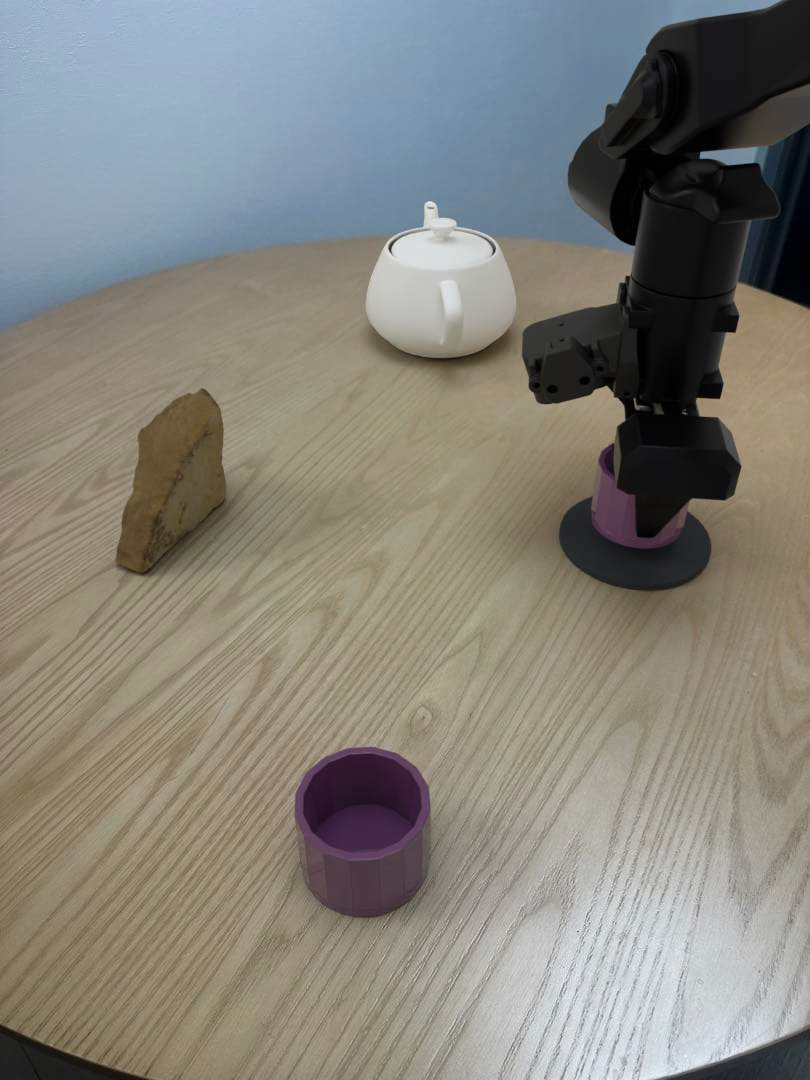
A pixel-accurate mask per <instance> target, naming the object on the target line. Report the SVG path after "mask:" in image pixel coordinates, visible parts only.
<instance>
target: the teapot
mask: <svg viewBox="0 0 810 1080" xmlns="http://www.w3.org/2000/svg"><path fill="white" fill-rule="evenodd" d="M423 212H424V213H423V215H424V218H423V226H422V227H416V228H411V229H408V230H404V231H402V232H399V233H397V234H395V235H394V236H392V237H390V239H389V240H387V242H386V243H385V245H384V247H383V249H382V250H381V252H380V254H379V257H378V259H377V261H376V263H375V266H374V268H373V271H372V273H371V276H370V279H369V281H368V282H369V283H368V287H367V291H366V296H365V297H366V298H365V311H366V315H367V318H368V321H369V323H370V325H371V326H372V327H373V328H374V330H375V331H376V332H377V334H379V335H380V336H381V337H382V338H384V339H385V340H386V341H387V342H389V344H391V345H392V346H394V347H395V348H396V349H398V350H400V351H402V352H403V353H406V354H410V355H413V356H417V357H418V356H419V357H422V358H432V359H449V358H460V357H464V356H469V355H472V354H476V353H478V352H480V351H482V350H484V349H486V348H487V347H488V346H490V345H491V344H492V343H494V342H495V341H497V340H498V339H499V338H500V337H502V336H503V335H504V334H505V333H506V332H507V330H509V328H510V327H511V326H512V324H513V322H514V319H515V316H516V313H517V296H516V289H515V286H514V281H513V278H512V275H511V271H510V269H509V265H508V264H507V262H506V259H505V256H504V253H503V251H502V249H501V247H500V245H499V244H498V242H497V240H495V239H494V238H492V236H491V235H487V234H486V233H484V232H481V231H478V230H475V229H471V228H468V227H460V226H458V224H457V221H456V220H455V219H453V218H449V217H440V216H439V210H438V206H437V204H436V203H435V202H434V201H429V200H428V201H426V202H425V203H424V205H423Z"/></svg>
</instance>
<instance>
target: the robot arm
mask: <svg viewBox="0 0 810 1080" xmlns="http://www.w3.org/2000/svg"><path fill="white" fill-rule="evenodd" d="M809 124H810V0H779V1H777V2H775V3H774V4H772V5H770V6H768V7H765V8H764V7H763V8H760V9H755V10H754V9H753V10H750V11H743V12H735V13H727V14H720V15H714V16H706V17H699V18H694V19H689V20H683V21H679V22H675V23H669V24H667V25H664V26H662V27H660V28H659V29H658V30H657V32H655V34H653V35H652V37H651V39H650V40H649V42H648V44H647V45H646V47H645V54H644V55H643V56H642V57H641V59H640V60H639V62H638V63H637V65H636V67H635V69H634V71H633V73H632V74H631V77H630V78H629V80H628V82H627V84H626V86H625V88H624V89H623V91H622V93H621V96H620V97H619V99H618V101H617V102H613V103H607V105H606V106H605V111H604V119H603V123H602V124H601V125H600V126H598V127H597V128H595V129H594V130H593V131H591V132H590V133H589V134H588V135H587V136H586V137H585V138H584V139H583V140H582V141H581V142H580V145H578V148H577V149H576V151H575V153H574V155H573V157H572V160H571V161H570V162H569V164H568V169H567V187H568V191H569V194H570V197H571V198H572V200H573V202H574V204H575V205H576V206H577V207H579V208H580V209H581V210H582V211H583V212H584V213H585V214H587V215H588V216H589V217H591V218H592V219H593V220H594V221H596V222H597V223H598V224H599V225H601V227H603V228H604V229H605V230H606V231H608V232H609V233H610V234H611V235H613V236H614V237H615V238H616V239H618V240H619V241H620V242H621V243H624V244H626V245H628V246H631V247H634V249H633V258H632V265H631V271H630V275H625V276H624V281H623V282H619V284H618V288H617V295H616V300H615V302H614V303H610V304H605V305H601V306H591V307H590V306H589V307H586V308H585V307H584V308H581V309H577V310H574V311H571V312H567V313H563V314H559V315H557V316H553V317H550V318H546V319H542V320H539V321H535V322H533V323H531V324H529V325H528V326H526V327H525V328H524V330H523V331H522V337H521V339H522V341H521V357H522V360H523V364H524V367H525V370H526V374H527V376H528V390H530V392H531V393H533V395H534V399H535V401H536V403H537V404H540V405H553V404H554V405H555V404H556V405H557V404H561V403H565V402H569V401H573V400H577V399H581V398H585V397H589V396H591V395H592V394H594V392H595V390H599V389H602V388H605V387H607V388H608V389H609V390H610V391H611V393H612V394H613V398H614V399H618V400H619V401H620V403H621V404H622V405H623V411H624V421H623V422H621V423H620V424H618V425H616V430H615V437H614V442H613V443H614V445H612V454H613V463H614V471H615V480H616V488H617V489H619V490H621V491H622V492H624V493H626V494H628V495H634V499H635V522H636V535H637V537H640V538H654V537H655V536H656V535H657V534H658V533H659V532H660V531H661V530H662V529H663V528H664V527H665V526H666V525H667V524H668V523H669V522H670V521H671V520H672V518H673V517H674V516H675V515H676V514H677V513H678V512H679V511H680V510H681V509H682V508H683V507H684V506H685V505H686V504H687V503H688V502H689V503H690V502H691V500H693V499H694V500H708V501H709V500H711V501H713V500H714V501H724V502H725V501H727V500H728V499H730V498H733V497H734V496H735V493H736V489H737V487H738V486H737V485H738V483H739V478H740V474H741V470H742V462H741V458H740V457H739V456H740V455H739V453H738V449H737V446H736V443H735V440H734V436H733V433H732V431H731V430H730V429H729V428H728V426H726V425H725V424H724V422H723V421H722V420H721V419H720V418H719V417H717V416H701V415H700V410H699V406H698V402H697V399H706V400H707V399H708V400H721V398H722V393H723V390H724V385H725V382H724V380H723V379H724V378H723V376H722V374H721V370H720V367H719V366H720V361H721V356H722V352H723V348H724V344H725V339H726V335H727V333H731V334H736V333H737V328H738V324H739V319H740V313H739V311H738V310H739V309H738V308H737V305H736V302H735V300H734V299H735V296H736V290H737V285H738V282H739V277H740V273H741V270H742V269H741V268H742V263H743V259H744V254H745V250H746V246H747V242H748V236H749V232H750V228H751V223H752V221H761V220H770V219H775V218H777V217H779V215H780V213H781V205H780V202H779V199H778V197H777V194H776V192H775V190H774V189H772V187H771V186H770V185H769V184H768V182H767V180H766V179H765V177H764V174H763V171H762V167H761V164H760V163H759V162H748V163H738V164H737V163H736V164H727V163H725V162H723V161H721V160H719V159H714V158H708V157H707V158H706V157H705V158H701V153H705V152H714V151H717V152H718V151H726V150H727V151H728V150H738V149H739V150H740V149H749V148H761V147H762V148H763V147H770V146H774V145H776V144H778V143H780V142H782V141H783V140H784V139H786V138H789V136H791V135H793V134H795V133H796V132H798V131H800V130H801V129H803V128H804V127H806V126H808V125H809Z"/></svg>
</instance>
